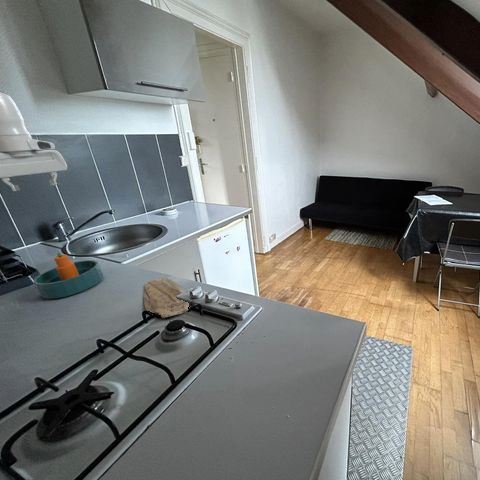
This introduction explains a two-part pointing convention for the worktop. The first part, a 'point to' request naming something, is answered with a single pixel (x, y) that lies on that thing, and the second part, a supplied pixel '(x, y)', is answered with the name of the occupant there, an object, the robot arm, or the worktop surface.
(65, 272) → the carrot
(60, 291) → the bowl
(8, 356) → the worktop surface
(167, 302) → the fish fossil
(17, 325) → the worktop surface
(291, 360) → the worktop surface
